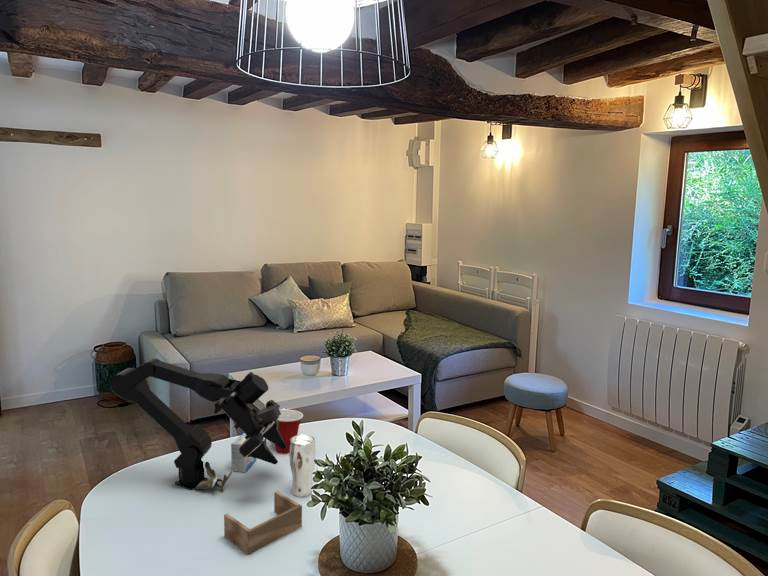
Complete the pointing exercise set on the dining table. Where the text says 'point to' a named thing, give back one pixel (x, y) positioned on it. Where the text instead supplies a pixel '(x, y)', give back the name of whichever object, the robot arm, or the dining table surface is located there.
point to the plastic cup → (288, 427)
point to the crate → (265, 525)
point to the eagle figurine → (212, 479)
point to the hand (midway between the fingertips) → (281, 455)
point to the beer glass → (302, 464)
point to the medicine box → (240, 456)
